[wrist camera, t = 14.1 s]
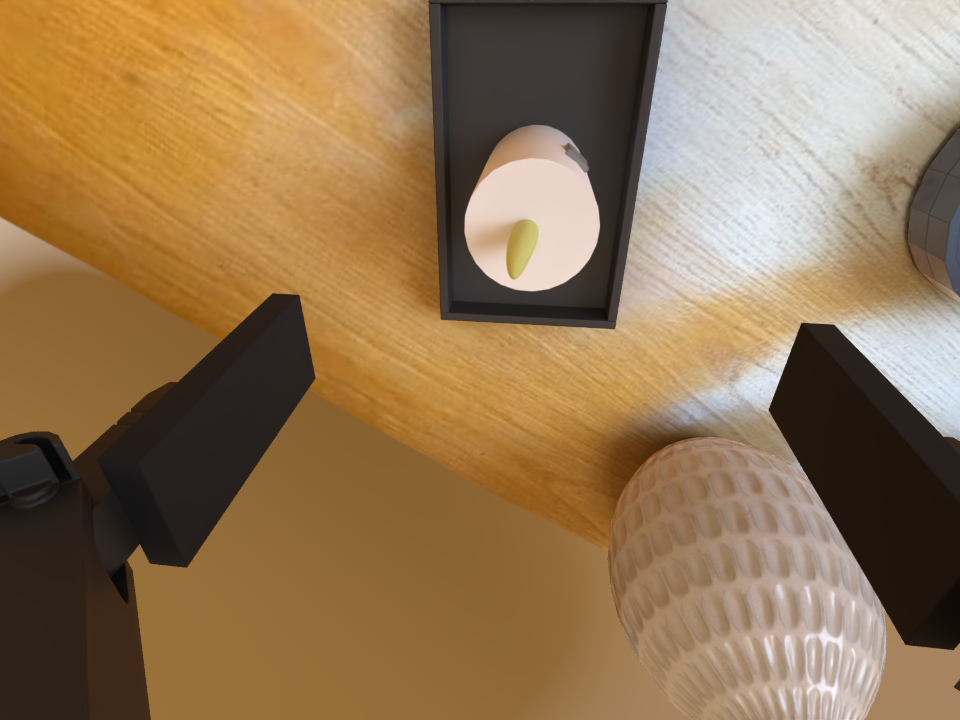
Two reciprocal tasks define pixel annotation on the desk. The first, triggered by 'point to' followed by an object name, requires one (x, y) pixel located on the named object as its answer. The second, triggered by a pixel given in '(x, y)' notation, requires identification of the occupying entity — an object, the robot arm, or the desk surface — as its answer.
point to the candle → (533, 211)
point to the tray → (550, 102)
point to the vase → (742, 588)
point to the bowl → (939, 221)
